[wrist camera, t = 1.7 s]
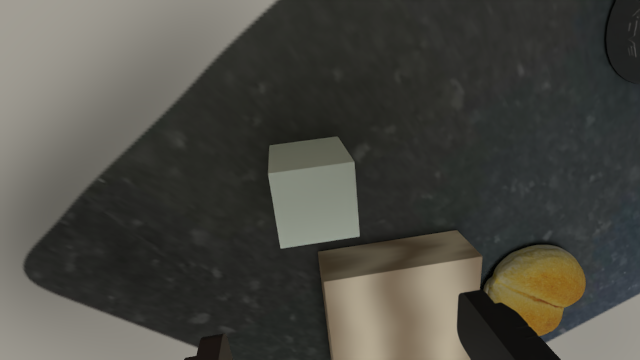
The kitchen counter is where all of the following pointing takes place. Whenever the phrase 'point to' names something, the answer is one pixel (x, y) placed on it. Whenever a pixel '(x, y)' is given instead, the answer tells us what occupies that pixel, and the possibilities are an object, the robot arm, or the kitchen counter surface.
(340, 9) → the kitchen counter surface
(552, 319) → the bread roll
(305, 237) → the sage block
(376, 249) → the birch plinth
